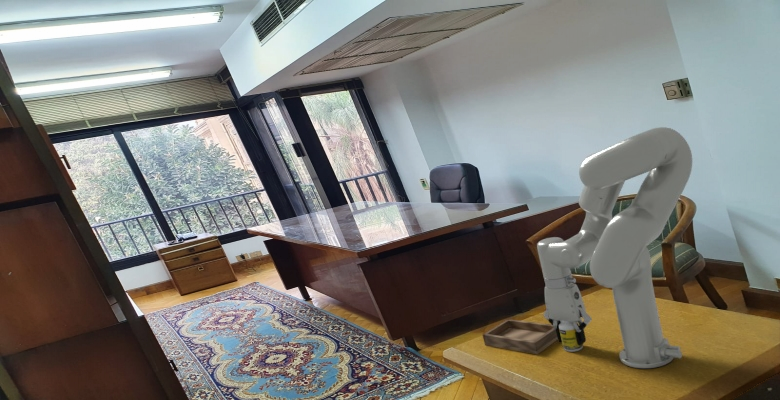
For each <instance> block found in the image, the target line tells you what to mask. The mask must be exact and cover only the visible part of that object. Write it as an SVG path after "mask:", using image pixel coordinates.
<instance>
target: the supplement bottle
mask: <svg viewBox="0 0 780 400" xmlns="http://www.w3.org/2000/svg"><path fill="white" fill-rule="evenodd" d="M560 322H561V323H560V324H559V330H560V335H561V339H562V342H561V343H562V344H561V345H562V347H563V349H564V351H566V352H571V353H573V352H579V351H580V350H582V349H583V348H584V343H583V344H582V345H581V346H579V345H578V344H577V340H576V335H575V332H576V329H575V327H574V325H573V323H572V322H567V321H564V320H562V321H560Z"/></svg>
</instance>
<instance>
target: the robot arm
mask: <svg viewBox="0 0 780 400" xmlns="http://www.w3.org/2000/svg"><path fill="white" fill-rule="evenodd" d="M692 168H693V155H692V150H691V147H690V145H689V143H688V142H687V140H686V138H685V137H684V136H683V135H682V134H681V133H680V132H678V131H677V130H675V129H673V128H670V127H664V126H663V127H662V126H661V127H655V128H651V129H648V130H646V131H643V132H640V133H638V134H634V135H632V136H630V137H629V138H626V139H624V140H621V141H619V142H617V143H615V144H613V145H611V146H608V147H605V148H604V149H603V150H602V149H601V150H599V151H596V152H595V153H592V154H589V155H588V156H586V157H585V158H584V160H582V162H581V163H580V166H579V171H578V175H579V180H580V181H581V183H582V184H583V185H584V186H583V189H582V190H581V193H580V196H579V199H578V205H579V206H580V208H581V209H582V210H583V211H585V218H584V220H583V223H582V225H581V228H580V230H579V232H578V233H577V234H575V235H573V236H571V237H570V238H568V239H566V240H564V239H563V238H561V237H557V236H553V237H546V238H544V239H541V240H539V241H538V242H537V243H536V248H537V254H538V258H539V262H540V267H541V270H542V275H543V276H542V277H543V279H544V280H543V281H544V283H545V286H544V303H545V307H546V309H545V311H544V313H543V314H542V315H543V318H545V319H546V321H548V322H549V324H551V325H553V328H554V329H556V333H557V338H558V340H557V342H558V343H562V339H561V335H560V330H559V324H560V323H561V322H560V321H562V320H564V321H567V322H572V323H573V325H574V327H575V329H576V332H575V335H576V340H577V344H578V345H579V346H581V345H582V344H583V345H584V343H586V333H585V328H586V327H587V326H588V325H589V324H590V322H592V320H593V319H592V317H591V316H590V315H589V314H588V313H587V311H586V307H585V303H584V300H583V296H582V293H581V291H580V289H579V287H578V285H577V284H576V283H577V279H576V277H573V275H572V271H571V269H576V268H580V267H581V266H583V265H585V264H586V263H588V262H589V271H590V275H591V276H592V279H593V281H595V282H596V283H597V284H598V285H599V286H601V287H604V288H607V289H612V298H613V301H614V305H615V310H616V311H615V312H616V316H617V320H618V325H619V328H620V335H621V338H622V342H623V343H622V344H623V349H622V350H621V351H620V352H619V355H618V356H619V360H620V362H621V363H623V364H624V365H626V366H627V367H628V366H629V367H631V368H634V369H635V368H636V369H654V368H658V367H663V366H665V365H668V364H670V362H672V361H673V359H682V356H683V351H681V346H677V345H671V344H670V343H669V338H665V337H664V334H663V329H662V325H661V320H660V315H659V311H658V305H657V300H656V295H655V290H654V285H653V278H652V277H653V275H652V259H651V254H650V251H649V249H648V247H647V246H648V245H650V244H651V243H652V242H654V241H655V240H656V239H658V238H659V236H660V235H661V234H662V233H663V231H664V229H665V226H666V224H667V222H668V221H669V219H670V217H671V215H672V213H673V211H674V209H675V207H676V205H677V203H678V201H679V199H680V197H681V195H682V194H683V192H684V190H685V188H686V186H687V184H688V182H689V179H690V175H691V173H692V170H693V169H692ZM646 173H647V175H646V176H645V178H644V180H643V181H642V183H641V185H640V187H639V189H638V192H637V193H636V195H635V197H634V199H633V201H632V202H631V203H630V205H628V207H626V208H625V209H623V210H622V211H620V212H619V213H616V214H615V215H614V216H613V210H614V208H615V206H616V203H617V201H618V198H619V195H620V193H621V191H622V189H623V187H624V185H625V182H626V181H628V180H630V179H633V178H635V177H638V176H640V175H641V176H642V175H643V174H646Z"/></svg>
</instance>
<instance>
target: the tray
mask: <svg viewBox="0 0 780 400" xmlns="http://www.w3.org/2000/svg"><path fill="white" fill-rule="evenodd" d="M482 338H483V343H484V346H488V347H494V348H500V349H505V350H510V351H515V352H516V351H517V352H520V353H521V352H522V353H527V354H532V353H533V355H539V354H541V353H542V352H543V351H544V350H546V349H547V348H549V347H550V346H552V344H554V343H556V342H558V338H557V333H556V329H554V328H553V325H552V324H551V323H541V322H534V321H526V320H517V319H510V318H508V319H506V320H504V321H503V322H501V323H499V324H498V325H496V326H495V327H493V328H491V329H489V330H488V331H486V332H485V333H483V334H482ZM538 353H539V354H538Z"/></svg>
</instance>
